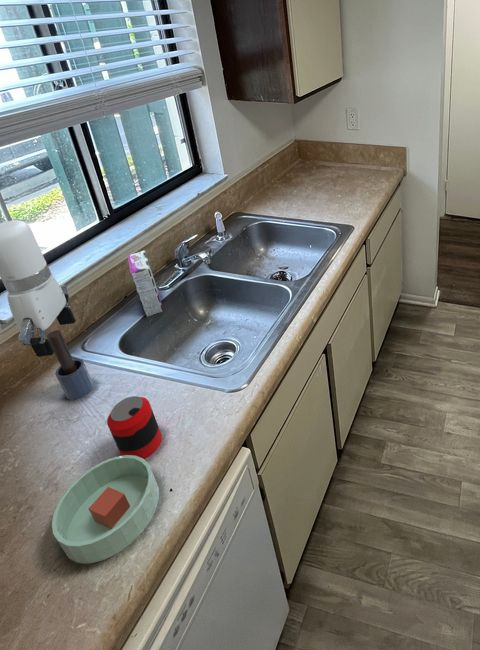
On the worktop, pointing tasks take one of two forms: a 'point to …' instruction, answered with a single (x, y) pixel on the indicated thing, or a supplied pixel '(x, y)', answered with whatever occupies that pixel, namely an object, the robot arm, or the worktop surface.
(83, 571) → the worktop surface
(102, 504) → the block
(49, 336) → the stirring stick
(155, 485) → the bowl
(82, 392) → the utensil holder
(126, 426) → the soda can
